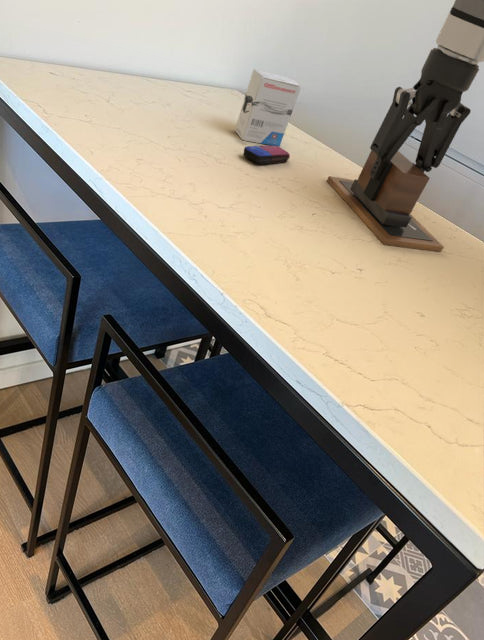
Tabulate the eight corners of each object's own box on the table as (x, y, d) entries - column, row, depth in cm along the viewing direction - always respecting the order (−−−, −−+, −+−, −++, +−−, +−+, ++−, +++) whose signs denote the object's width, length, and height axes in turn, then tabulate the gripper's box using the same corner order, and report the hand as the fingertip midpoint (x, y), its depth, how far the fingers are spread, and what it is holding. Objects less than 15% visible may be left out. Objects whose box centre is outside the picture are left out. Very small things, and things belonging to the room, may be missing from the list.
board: (440, 252, 96) (444, 246, 95) (384, 244, 91) (387, 238, 90) (378, 189, 111) (381, 184, 110) (326, 180, 106) (329, 175, 105)
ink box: (271, 137, 116) (292, 77, 109) (280, 147, 113) (302, 86, 106) (233, 129, 112) (252, 67, 105) (241, 140, 109) (262, 76, 102)
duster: (407, 227, 96) (433, 181, 91) (381, 224, 94) (407, 176, 88) (373, 193, 104) (395, 148, 99) (348, 189, 102) (370, 143, 96)
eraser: (275, 152, 110) (278, 143, 109) (291, 162, 108) (294, 153, 107) (238, 155, 102) (241, 145, 101) (254, 165, 100) (258, 155, 99)
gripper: (487, 61, 89) (413, 196, 104) (394, 31, 82) (328, 181, 96) (518, 77, 84) (436, 217, 99) (422, 48, 77) (348, 203, 91)
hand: (383, 199), depth 97 cm, fingers closed on duster, 5 cm apart
